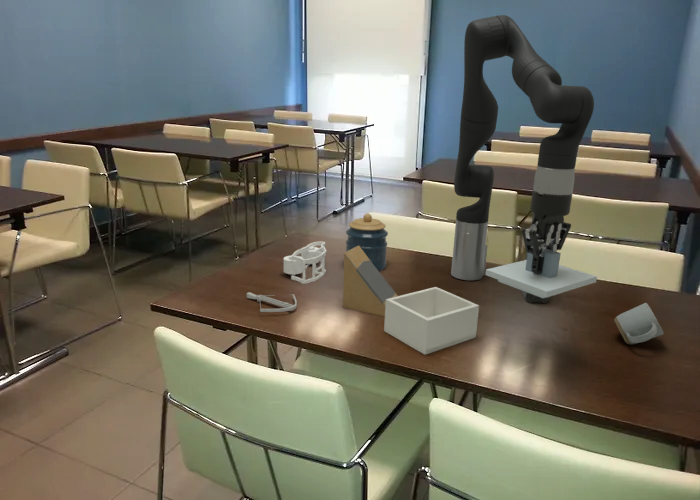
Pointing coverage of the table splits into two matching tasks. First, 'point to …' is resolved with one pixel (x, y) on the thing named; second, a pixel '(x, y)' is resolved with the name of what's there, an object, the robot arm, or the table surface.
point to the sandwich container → (364, 284)
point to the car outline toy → (306, 262)
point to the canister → (369, 239)
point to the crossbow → (286, 306)
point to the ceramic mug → (638, 324)
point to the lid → (541, 276)
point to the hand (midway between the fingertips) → (541, 271)
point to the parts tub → (431, 319)
